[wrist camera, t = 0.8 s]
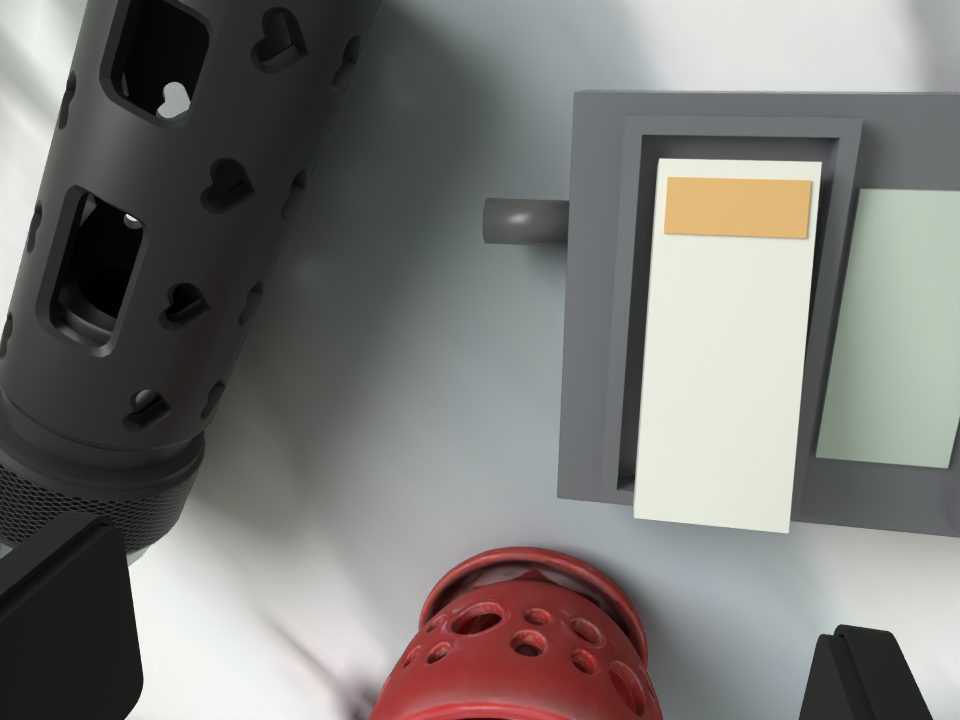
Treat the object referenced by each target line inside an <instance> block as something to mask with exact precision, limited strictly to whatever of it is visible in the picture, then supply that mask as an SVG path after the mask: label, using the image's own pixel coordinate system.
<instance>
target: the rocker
mask: <svg viewBox="0 0 960 720" xmlns="http://www.w3.org/2000/svg"><path fill="white" fill-rule="evenodd" d="M821 166H822V162H802V161H754V160H706V159H659V162H658V166H657V178H656V192H655V206H654V220H653V234H652V248H651V262H650V276H649V291H648V305H647V319H646V333H645V347H644V361H643V375H642V389H641V403H640V418H639V432H638V446H637V460H636V474H635V488H634V502H633V510H634V518H639V519H649V520H659V521H669V522H679V523H689V524H699V525H709V526H719V527H729V528H739V529H749V530H759V531H769V532H779V533H789V524H790V513H791V502H792V491H793V479H794V468H795V457H796V446H797V435H798V424H799V412H800V401H801V390H802V379H803V368H804V356H805V345H806V334H807V323H808V312H809V301H810V289H811V278H812V267H813V256H814V245H815V233H816V222H817V211H818V200H819V189H820V178H821Z"/></svg>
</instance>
